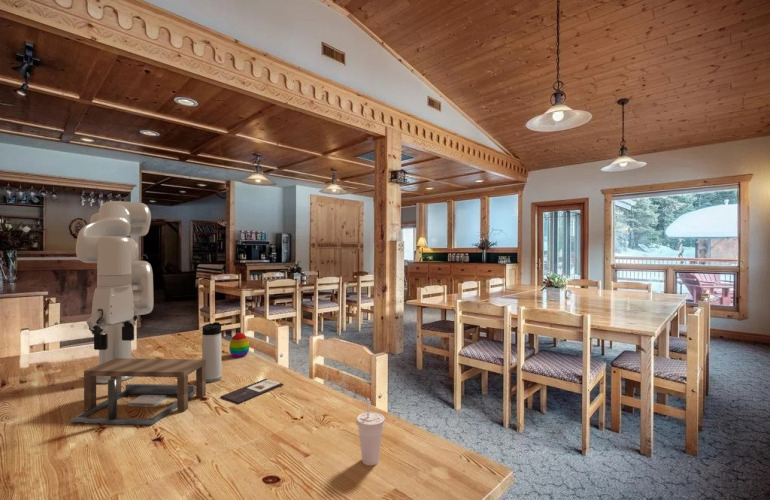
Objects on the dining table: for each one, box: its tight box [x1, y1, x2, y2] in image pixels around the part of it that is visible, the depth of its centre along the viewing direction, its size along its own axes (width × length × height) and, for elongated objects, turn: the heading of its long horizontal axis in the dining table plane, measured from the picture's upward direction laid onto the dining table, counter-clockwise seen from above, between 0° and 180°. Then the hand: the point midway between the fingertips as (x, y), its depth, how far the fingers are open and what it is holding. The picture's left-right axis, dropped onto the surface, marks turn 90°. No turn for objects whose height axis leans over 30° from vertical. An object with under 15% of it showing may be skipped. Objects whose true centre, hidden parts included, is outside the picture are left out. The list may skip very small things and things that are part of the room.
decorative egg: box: [228, 332, 250, 358], centre depth 163 cm, size 8×8×10 cm
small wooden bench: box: [83, 357, 207, 413], centre depth 115 cm, size 30×12×12 cm, turn 88°
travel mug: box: [201, 321, 223, 383], centre depth 134 cm, size 6×7×20 cm
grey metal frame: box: [71, 378, 196, 426], centre depth 110 cm, size 22×22×12 cm
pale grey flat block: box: [127, 394, 168, 408], centre depth 115 cm, size 8×6×2 cm
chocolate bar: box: [219, 378, 284, 405], centre depth 123 cm, size 9×1×18 cm
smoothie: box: [355, 398, 386, 466], centre depth 84 cm, size 6×6×14 cm
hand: (115, 344), depth 101 cm, fingers open, 9 cm apart
